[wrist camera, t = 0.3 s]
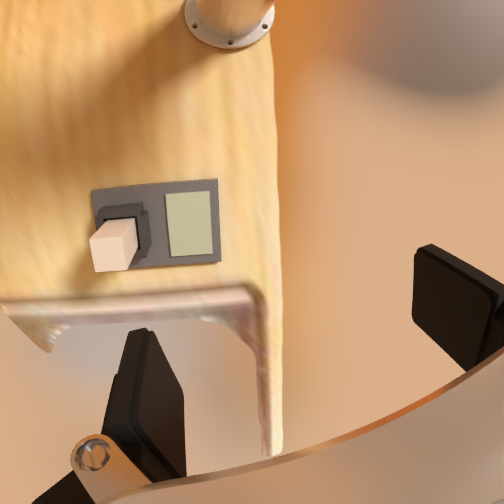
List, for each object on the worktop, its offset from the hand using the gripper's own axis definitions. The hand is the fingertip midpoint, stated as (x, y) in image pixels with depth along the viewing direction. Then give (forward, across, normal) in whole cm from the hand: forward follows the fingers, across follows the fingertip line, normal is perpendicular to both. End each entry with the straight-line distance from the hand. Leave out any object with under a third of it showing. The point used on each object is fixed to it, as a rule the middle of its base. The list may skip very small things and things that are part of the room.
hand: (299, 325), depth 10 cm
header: (+35, +10, +3) cm, 37 cm away
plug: (+34, +14, +2) cm, 37 cm away
